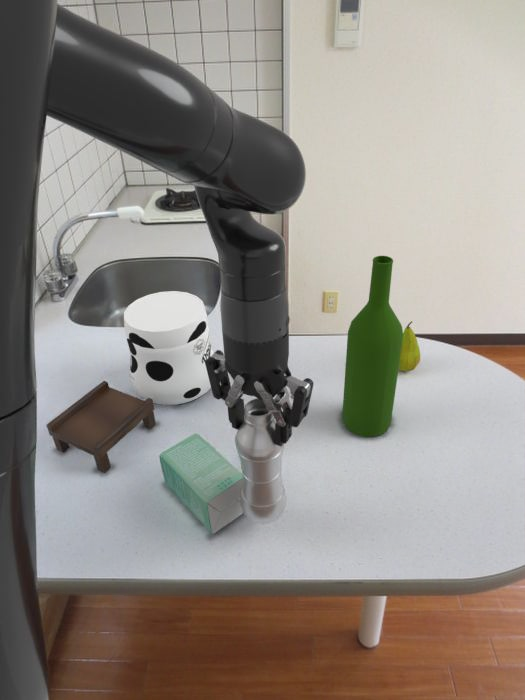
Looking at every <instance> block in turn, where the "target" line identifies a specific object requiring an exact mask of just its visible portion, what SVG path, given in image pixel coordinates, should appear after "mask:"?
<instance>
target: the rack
mask: <svg viewBox="0 0 525 700" xmlns="http://www.w3.org/2000/svg"><path fill="white" fill-rule="evenodd" d="M154 410H155V404H153V399H151V398H147V399H146V400H144V399H142V398H139V397H136V396H133V395H131V394H129V393H126V392H123V391H121V390H118V389H116V388H114V387H111V386H109V382H108V381H106V380H103V381H101V382H100V383H98V384H97V385H96V386H95V387H93V388H92V389H90V390H89V391H88V392H87V393H86V394H84V395H83V396H82V397H80V398H79V399H78V400H76V401H75V402H73V403H72V404H71V405H70V406H69V407H67V408H66V409H65V410H63V411H62V412H61V413H60V414H58V415H57V416H56V417H54V418H53V419H52V420H50V421H49V422H48V423H46V424H45V427H46V428H47V432H48V435H49V436H50V437H51V438H52V440H53V443H54V446H55V448H56V451H58V452H60V453H62V454H64V453H65V452H66V451H68V450H69V449H70V446H72V447H74V448H77V449H78V450H80V451H83V452H85V453H87V454H89V455H90V456H93V459H94V462H95V466H96V468H97V471H99V472H101V473H102V474H106V473H107V472H108V471H109V470H110V469H111V468H112V464H111V461H110V458H109V455H108V452H109V451H110V450H111V449H113V448H114V446H116V445H117V444H119V442H121V440H123V438H125V437H126V436H127V435H128V434H129V433H130V432H131V431H132V430H134V429H135V427H137V426H138V425H139V424H140V423H142V424H143V428H145V429H148V430H150V431H152V429H153V428H154V427H156V425H157V422H156V418H155V413H154Z"/></svg>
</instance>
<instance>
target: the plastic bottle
mask: <svg viewBox="0 0 525 700" xmlns="http://www.w3.org/2000/svg"><path fill="white" fill-rule="evenodd" d="M244 410H245V414H244V422H243V423H242V425H241V426H240V427H239V429H236V434H235V437H234V443H235V448H236V451H237V455H238V458H239V461H240V469H241V474H242V475H243V479H242V490H241V497H240V504H241V508H242V511H243V515H244V517H246V518H247V519H248V520H249V521H250V522H253V523H255V524H258V525H266V524H271V523H273V522H275V521H276V520H278V519H279V518H281V516H282V515H283V514H284V512H285V509H286V504H287V494H286V490H285V486H284V482H283V475H282V467H283V465H282V463H283V454H284V449H285V444H283V445H282V446H278V445H276V441H275V424H276V423H277V422H276V420H275V418H274V416H273V414H272V412H269V411H268V410H267V408H266V406H265V404H264V402H263V400H260V399H258V398H257V397H254V398H253V399H250V400H248V401H247V402H246V403H245V404H244Z"/></svg>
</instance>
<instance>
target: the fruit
mask: <svg viewBox="0 0 525 700" xmlns="http://www.w3.org/2000/svg"><path fill="white" fill-rule="evenodd" d="M412 323H413V321H412V320H411V321H410V322H409V323H408V324H407V326H406V327H405V328H404V330H403V340H402V348H401V355H400V362H399V369H398V371H400V372H410V371H413V370H415V369H416V367H417V366H418V365H419V363H420V362H421V351H420V350H421V349H420V347H419V346H420V345H419V343H418V339H417V337H416V333H415V332H414V330H413V329H412V328H411V324H412Z"/></svg>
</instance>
